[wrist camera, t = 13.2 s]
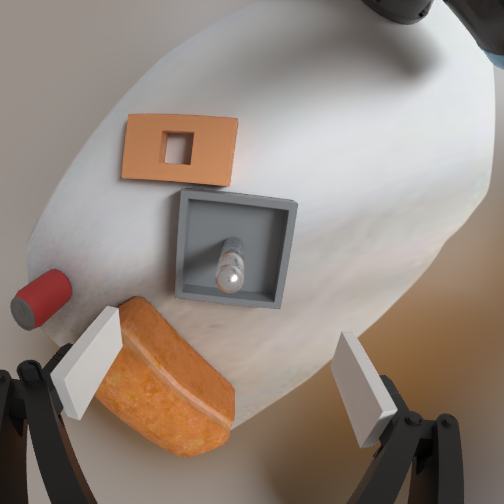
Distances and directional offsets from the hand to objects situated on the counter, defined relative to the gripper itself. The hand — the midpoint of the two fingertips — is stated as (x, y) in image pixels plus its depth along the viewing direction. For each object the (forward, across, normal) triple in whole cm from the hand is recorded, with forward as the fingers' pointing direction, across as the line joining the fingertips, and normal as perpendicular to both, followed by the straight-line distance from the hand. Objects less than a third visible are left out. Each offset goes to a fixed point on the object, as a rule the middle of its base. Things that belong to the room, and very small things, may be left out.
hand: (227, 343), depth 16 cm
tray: (+27, 0, -2) cm, 27 cm away
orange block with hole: (+27, -9, +11) cm, 31 cm away
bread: (+27, -10, -24) cm, 38 cm away
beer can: (+27, -32, -12) cm, 43 cm away
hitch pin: (+26, 0, -2) cm, 26 cm away
